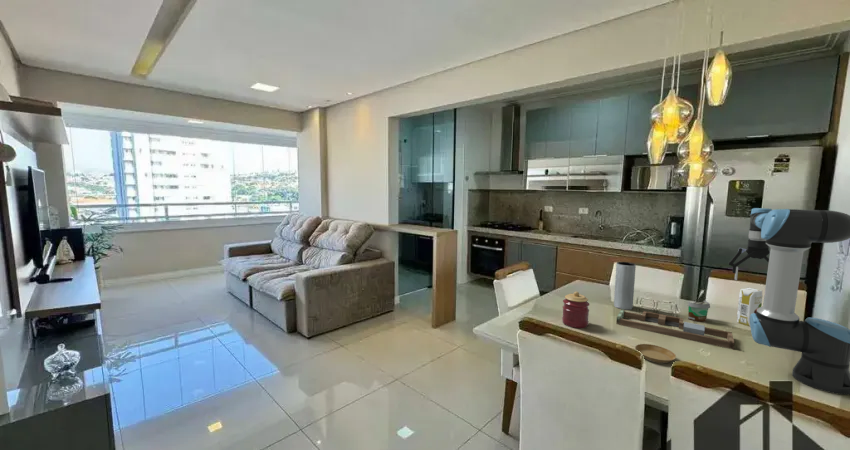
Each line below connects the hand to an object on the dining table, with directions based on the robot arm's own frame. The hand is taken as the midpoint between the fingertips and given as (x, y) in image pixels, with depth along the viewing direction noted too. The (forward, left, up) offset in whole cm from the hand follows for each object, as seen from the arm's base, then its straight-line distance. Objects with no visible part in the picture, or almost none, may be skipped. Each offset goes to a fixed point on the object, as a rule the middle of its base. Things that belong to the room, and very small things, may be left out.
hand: (754, 282), depth 170 cm
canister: (-43, +72, -26) cm, 88 cm away
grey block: (-22, +22, -26) cm, 41 cm away
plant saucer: (-60, +35, -27) cm, 74 cm away
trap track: (-18, +31, -26) cm, 44 cm away
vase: (+3, +56, -26) cm, 62 cm away
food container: (+5, +19, -26) cm, 33 cm away
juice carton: (+15, -1, -26) cm, 31 cm away
